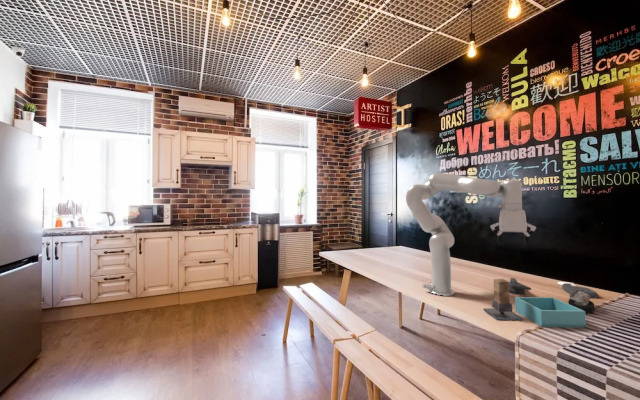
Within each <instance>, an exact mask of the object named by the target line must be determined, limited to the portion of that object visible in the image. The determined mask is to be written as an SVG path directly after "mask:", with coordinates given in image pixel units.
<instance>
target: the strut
mask: <svg viewBox="0 0 640 400" xmlns="http://www.w3.org/2000/svg"><path fill="white" fill-rule="evenodd" d="M509 282H510V281H508V280H506V279H503V278H493V299H492V300H491V307H492V308H494V309H496V310H497V311H499V312H513V304H512V303H511V302H510V293H509Z"/></svg>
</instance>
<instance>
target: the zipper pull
mask: <svg viewBox="0 0 640 400" xmlns="http://www.w3.org/2000/svg"><path fill="white" fill-rule="evenodd" d="M527 290H528V291H531V290H532V288H531V287H530V286H527V285H525V284H523V283H521V282H518V280H517V278H514V277H510V281H509V294H513V295H519V296H522V295H523V296H525V295H526V291H527Z"/></svg>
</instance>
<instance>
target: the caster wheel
mask: <svg viewBox="0 0 640 400" xmlns="http://www.w3.org/2000/svg"><path fill="white" fill-rule="evenodd" d="M590 299H591V298H590V295H588V294H586V293H584V292H583V289H580V290H577V291H573V292H570V294H569V298H568V302H567V304H569V305H572V306H574V307H576V308H579V309H581V310H583V311H585V314H592V313H595V311H596V306H595V305H596V304H595V303H594V302H592V301H591V300H590Z"/></svg>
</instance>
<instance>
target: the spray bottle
mask: <svg viewBox="0 0 640 400" xmlns="http://www.w3.org/2000/svg"><path fill="white" fill-rule="evenodd" d="M557 285H560V286H561V287H562V290H563V291H564V292H566V293H568V294H569V295H570V292H573V291H577V290H580V289H583V292H584V293H586V294H588V295H590V299H599V296H600V295H599V294H598V293H597V292H596V291H594V290H593V289H592V288H591V289H590V288H589V287H585V286H579V285H575V284H574V282H567V281H557Z"/></svg>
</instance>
